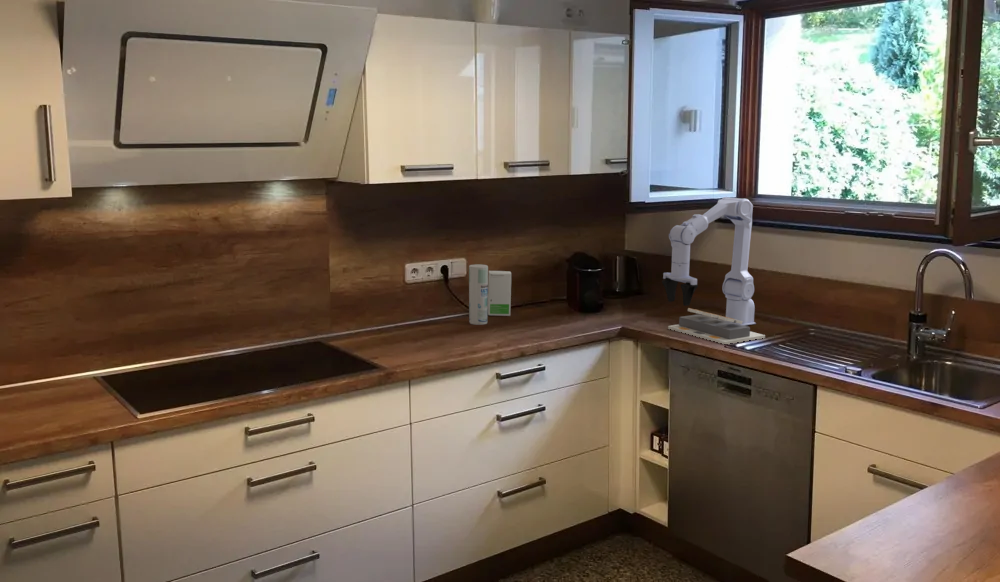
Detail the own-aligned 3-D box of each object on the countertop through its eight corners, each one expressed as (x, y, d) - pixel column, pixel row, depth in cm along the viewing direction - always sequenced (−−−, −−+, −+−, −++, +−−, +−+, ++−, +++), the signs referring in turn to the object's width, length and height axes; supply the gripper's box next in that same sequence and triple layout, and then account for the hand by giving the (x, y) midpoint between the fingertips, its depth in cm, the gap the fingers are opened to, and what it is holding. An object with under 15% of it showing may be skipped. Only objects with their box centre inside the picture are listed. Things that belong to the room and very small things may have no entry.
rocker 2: (716, 318, 288) (717, 314, 288) (726, 320, 284) (727, 317, 284) (701, 314, 284) (702, 311, 284) (711, 317, 281) (712, 313, 281)
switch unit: (706, 323, 301) (707, 311, 301) (764, 338, 280) (765, 326, 279) (668, 328, 292) (668, 317, 291) (725, 344, 270) (725, 332, 270)
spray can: (481, 325, 295) (481, 267, 292) (465, 323, 298) (465, 266, 295) (491, 322, 301) (491, 265, 297) (475, 320, 304) (475, 263, 300)
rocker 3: (732, 322, 282) (733, 318, 282) (742, 324, 279) (743, 320, 279) (717, 318, 279) (718, 315, 278) (727, 321, 275) (728, 317, 275)
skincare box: (488, 316, 311) (488, 273, 308) (487, 312, 317) (487, 270, 314) (511, 315, 311) (511, 273, 308) (510, 312, 318) (510, 270, 315)
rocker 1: (701, 314, 294) (702, 310, 294) (710, 316, 290) (711, 313, 290) (686, 311, 290) (687, 307, 290) (696, 313, 287) (697, 309, 287)
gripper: (656, 260, 286) (655, 300, 288) (686, 266, 274) (684, 308, 276) (673, 258, 289) (671, 298, 292) (703, 264, 277) (700, 306, 279)
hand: (678, 303), depth 284 cm, fingers open, 7 cm apart
